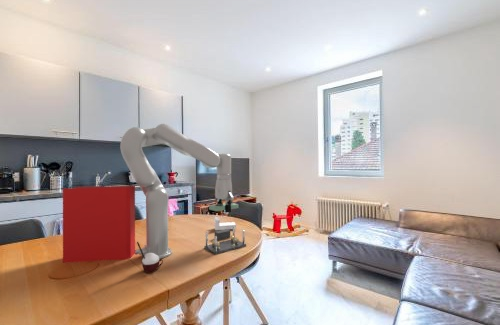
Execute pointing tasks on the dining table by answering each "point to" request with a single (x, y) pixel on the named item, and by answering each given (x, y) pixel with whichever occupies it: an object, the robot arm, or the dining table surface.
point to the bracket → (223, 225)
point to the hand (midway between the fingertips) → (223, 210)
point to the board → (222, 206)
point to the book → (98, 223)
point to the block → (222, 234)
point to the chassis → (225, 244)
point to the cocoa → (150, 261)
